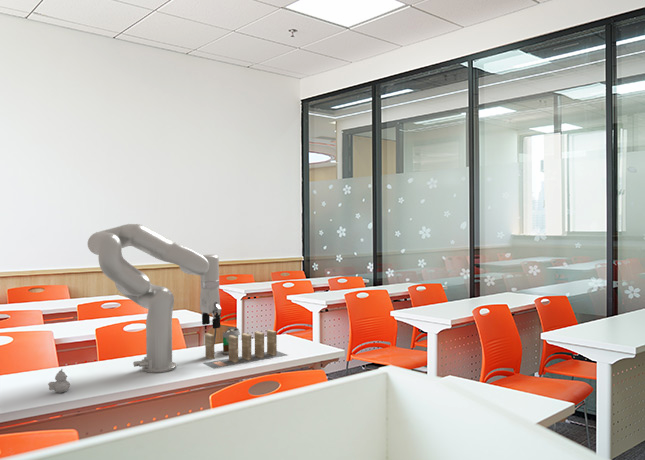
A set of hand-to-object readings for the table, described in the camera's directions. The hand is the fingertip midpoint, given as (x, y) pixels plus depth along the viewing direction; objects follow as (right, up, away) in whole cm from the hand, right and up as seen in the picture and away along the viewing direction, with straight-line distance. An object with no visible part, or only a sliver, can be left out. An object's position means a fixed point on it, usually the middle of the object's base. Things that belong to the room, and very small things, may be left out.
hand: (211, 326), depth 225 cm
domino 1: (0, -13, 0) cm, 13 cm away
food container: (+7, -13, +9) cm, 18 cm away
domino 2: (+10, -13, -6) cm, 18 cm away
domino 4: (+20, -13, +1) cm, 24 cm away
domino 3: (+15, -13, -2) cm, 20 cm away
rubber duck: (-42, -15, -44) cm, 62 cm away
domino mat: (+15, -13, -2) cm, 20 cm away
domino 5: (+24, -13, +5) cm, 28 cm away
